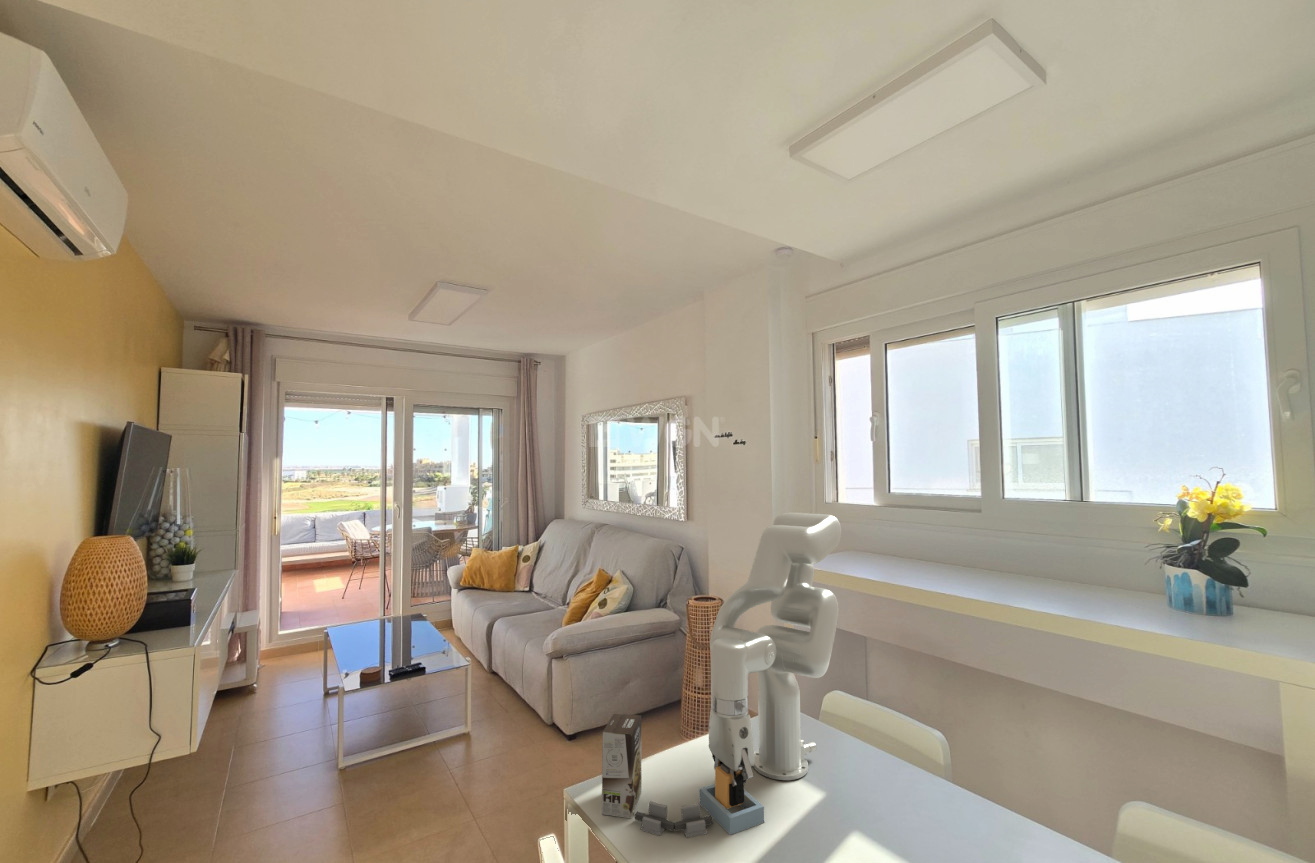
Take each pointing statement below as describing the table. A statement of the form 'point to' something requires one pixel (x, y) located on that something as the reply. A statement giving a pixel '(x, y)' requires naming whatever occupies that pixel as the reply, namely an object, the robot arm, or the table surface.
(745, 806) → the frame
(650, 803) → the clip
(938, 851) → the table surface
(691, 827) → the clip
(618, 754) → the coffee box
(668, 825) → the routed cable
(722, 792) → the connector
